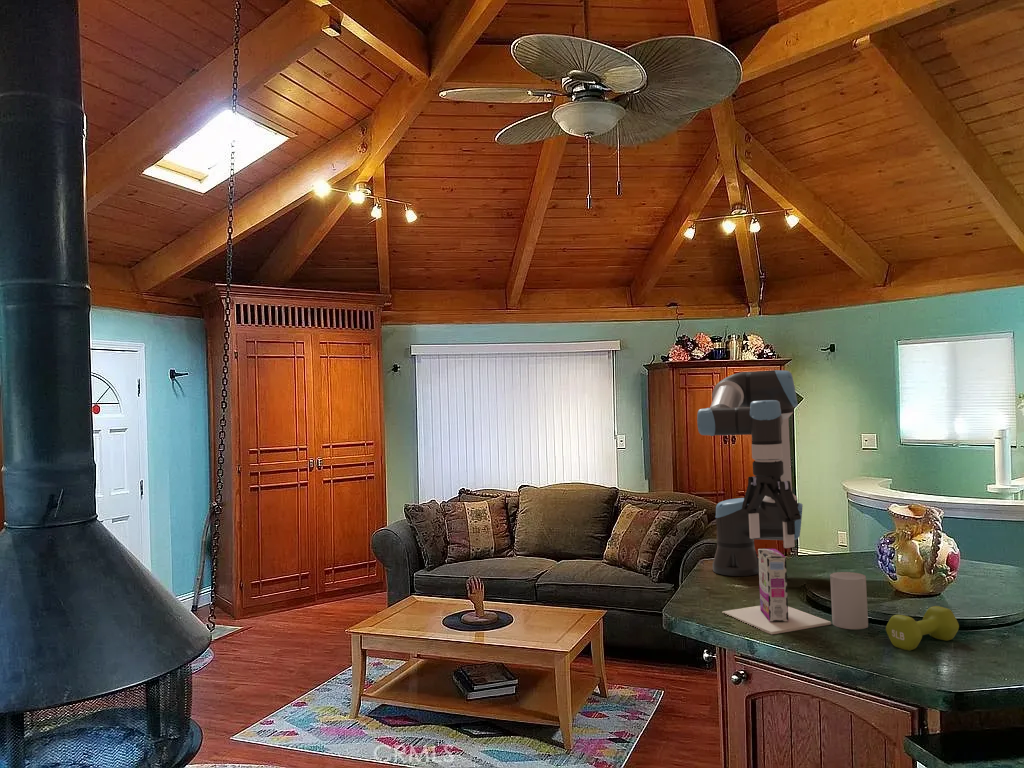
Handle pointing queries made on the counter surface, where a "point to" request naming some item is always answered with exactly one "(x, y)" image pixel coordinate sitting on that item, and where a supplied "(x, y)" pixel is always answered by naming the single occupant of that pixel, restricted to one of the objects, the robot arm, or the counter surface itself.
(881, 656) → the counter surface
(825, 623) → the mat
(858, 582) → the cup
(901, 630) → the dumbbell
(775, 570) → the candy bar box
